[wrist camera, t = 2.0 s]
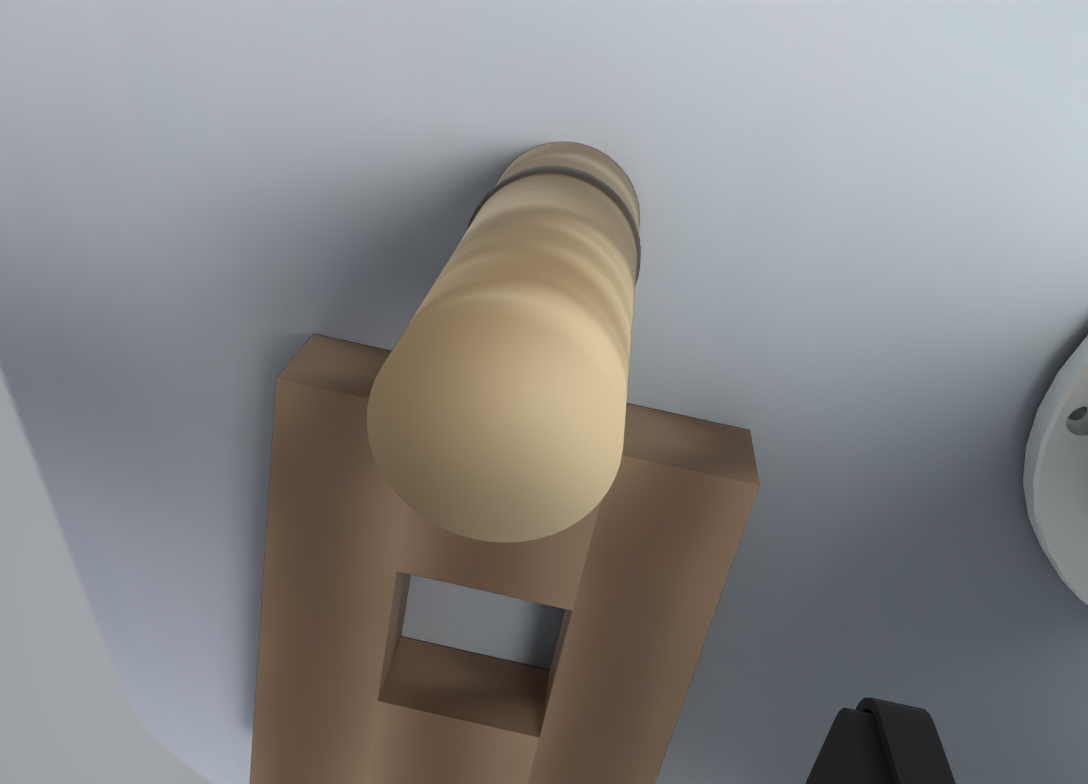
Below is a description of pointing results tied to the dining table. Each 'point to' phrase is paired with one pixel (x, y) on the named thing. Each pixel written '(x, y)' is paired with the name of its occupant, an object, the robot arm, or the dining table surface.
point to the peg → (518, 356)
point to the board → (503, 568)
